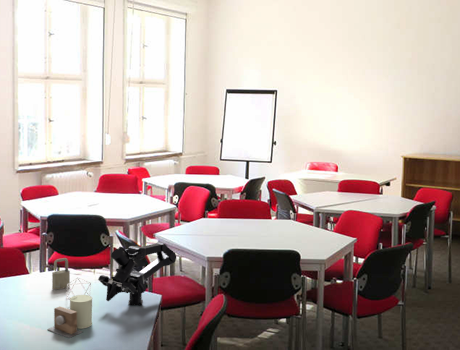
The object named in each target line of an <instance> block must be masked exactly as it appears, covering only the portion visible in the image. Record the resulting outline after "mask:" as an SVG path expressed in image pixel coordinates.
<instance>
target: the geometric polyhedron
mask: <svg viewBox="0 0 460 350" xmlns="http://www.w3.org/2000/svg"><path fill="white" fill-rule="evenodd" d="M74 281H75V282H74ZM77 281H78V283H77ZM81 281H84V282H81ZM72 282H74V283H73V284H72ZM76 283H77V285H81V286H82V288H83V289H84V291H85V292H84V294H83V295H88V296H91V293H89V292H88V290H91V286H92V282H90V281H88V280H85V279H82V278H80V277H76V278H75V279H73V280H72V281H70V284H69V283H68V284H67V285H72V287H71V288H70V287H69V286H68V287H67V288H69V290H70V291H69V292H68V293H67V294H66V299H67V300H69V301H70V298H69V295H70V293H71V294H72V295H73V296H76V295H75V294H74V292H73V291H72V289H73V288H74V286H75V285H76ZM83 284H84V285H86V284H89V285H88V287H87V288H85V286H84V285H83Z"/></svg>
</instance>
